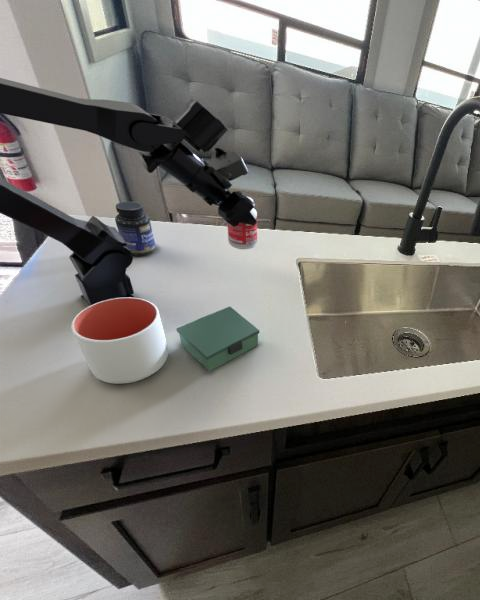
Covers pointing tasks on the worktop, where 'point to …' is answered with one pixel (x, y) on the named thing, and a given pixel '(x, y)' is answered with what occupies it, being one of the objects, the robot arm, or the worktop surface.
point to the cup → (121, 339)
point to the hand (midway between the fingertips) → (248, 217)
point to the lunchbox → (218, 337)
